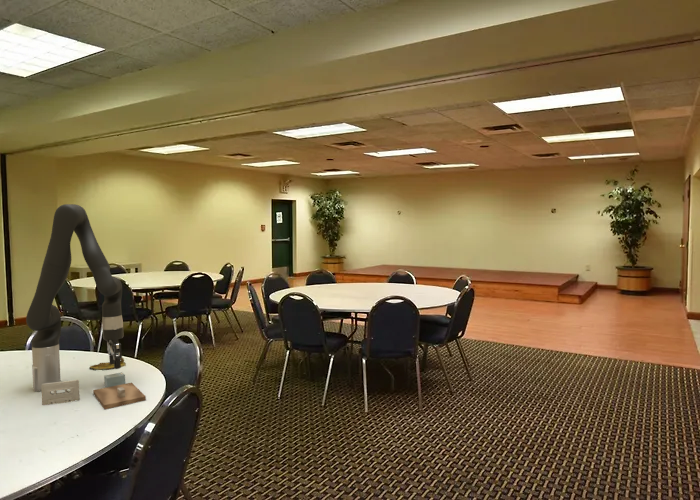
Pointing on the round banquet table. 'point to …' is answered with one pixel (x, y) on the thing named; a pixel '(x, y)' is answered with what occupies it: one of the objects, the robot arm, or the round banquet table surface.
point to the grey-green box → (114, 379)
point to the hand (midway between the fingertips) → (115, 366)
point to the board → (114, 399)
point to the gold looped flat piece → (107, 365)
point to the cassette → (60, 397)
